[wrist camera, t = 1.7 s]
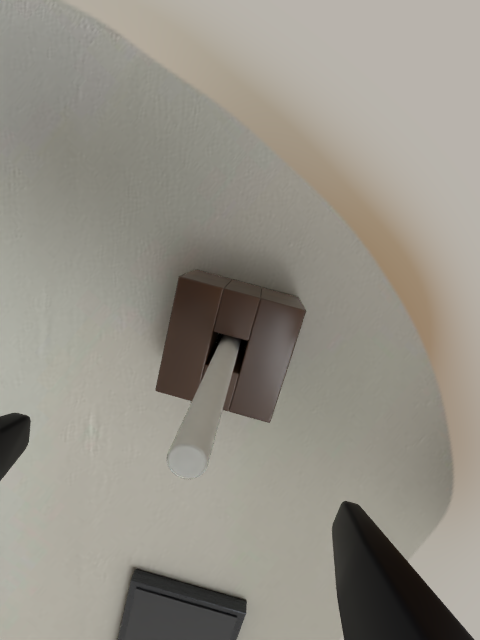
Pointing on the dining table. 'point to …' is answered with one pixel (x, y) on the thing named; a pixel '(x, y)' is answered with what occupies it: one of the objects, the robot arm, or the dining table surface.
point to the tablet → (178, 611)
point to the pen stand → (237, 321)
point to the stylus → (204, 414)
